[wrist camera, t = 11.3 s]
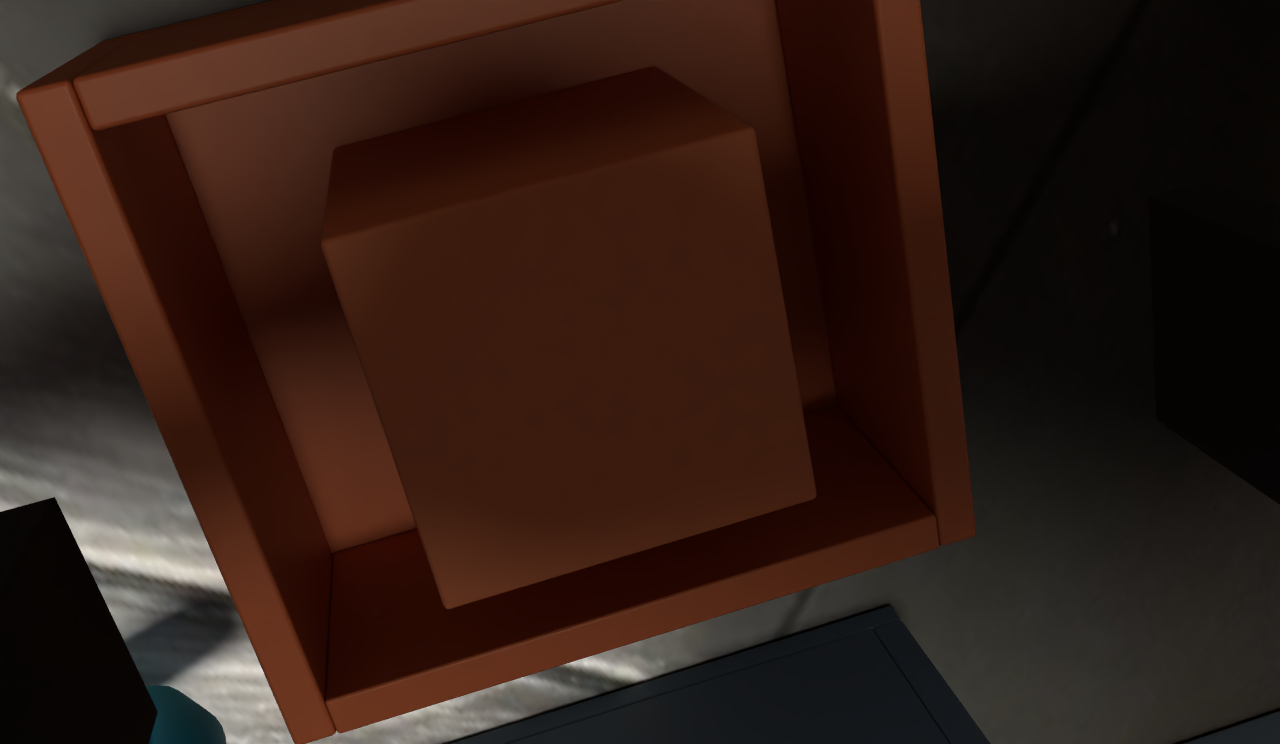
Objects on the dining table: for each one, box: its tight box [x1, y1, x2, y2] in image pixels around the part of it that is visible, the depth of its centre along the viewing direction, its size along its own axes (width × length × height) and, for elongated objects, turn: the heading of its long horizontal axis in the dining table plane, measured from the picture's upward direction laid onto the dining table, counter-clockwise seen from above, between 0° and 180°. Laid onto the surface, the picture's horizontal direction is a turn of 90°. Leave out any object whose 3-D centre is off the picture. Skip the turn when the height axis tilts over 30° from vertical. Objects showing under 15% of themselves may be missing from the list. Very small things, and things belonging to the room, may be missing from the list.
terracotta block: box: [321, 67, 817, 609], centre depth 16 cm, size 5×5×5 cm
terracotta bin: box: [17, 0, 976, 744], centre depth 17 cm, size 10×9×4 cm
